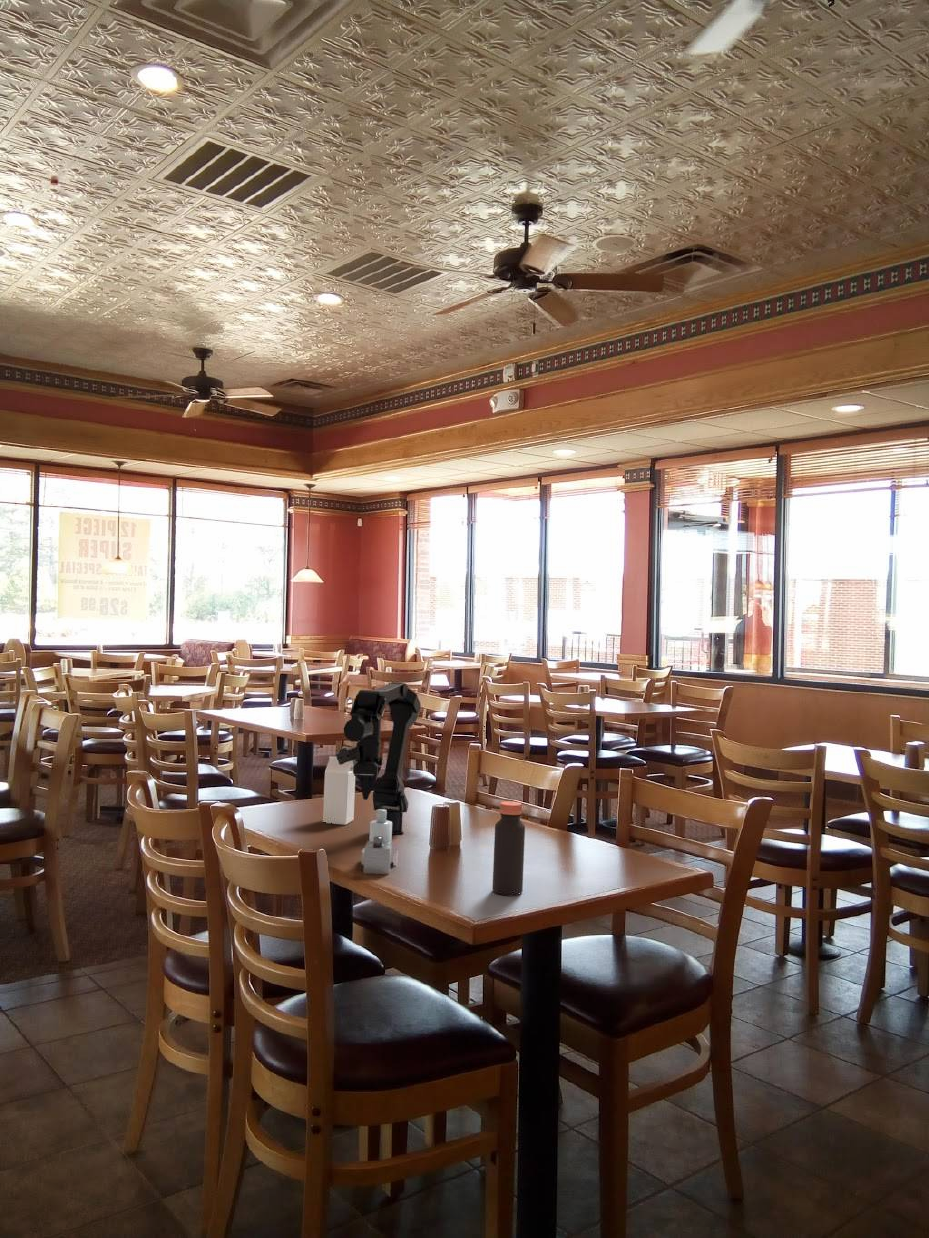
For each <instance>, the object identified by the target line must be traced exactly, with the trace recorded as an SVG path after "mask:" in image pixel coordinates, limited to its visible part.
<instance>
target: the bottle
mask: <svg viewBox="0 0 929 1238" xmlns="http://www.w3.org/2000/svg"><path fill="white" fill-rule="evenodd" d="M522 808H523V804H522V803H521V802H518V801H511V800H510V801H509V800H508V801H506V800H504V801H501V802H500V803H499V816H500V818H499V820H498V821H497V822H496V823H495V825H494V844H493V845H494V846H493V863H492V864H493V868H492V870H493V871H492V888H491V889H492V892H493V893H494V892H495V893H494V894H496V893H497V895H499V894H500V895H499V896H505V895H515V894H519V893H521V892H522V893H523V888H524V887H523V884H524V883H523V882H524V866H525V865H524V863H525V862H524V861H525V859H524V858H525V841H526V840H525V836H526V826H525V824H524V823H523V822H522V821H521V817H522V813H523V812H522ZM522 893H521V894H522ZM519 895H520V894H519ZM515 896H516V895H515Z"/></svg>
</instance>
